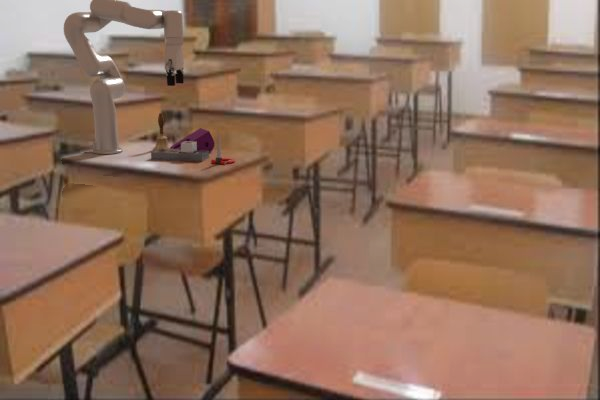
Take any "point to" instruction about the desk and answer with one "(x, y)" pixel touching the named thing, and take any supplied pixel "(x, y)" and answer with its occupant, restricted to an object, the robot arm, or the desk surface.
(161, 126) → the hand bell
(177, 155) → the grey tray
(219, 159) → the red scissors
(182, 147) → the white cylinder
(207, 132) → the mounting bracket
